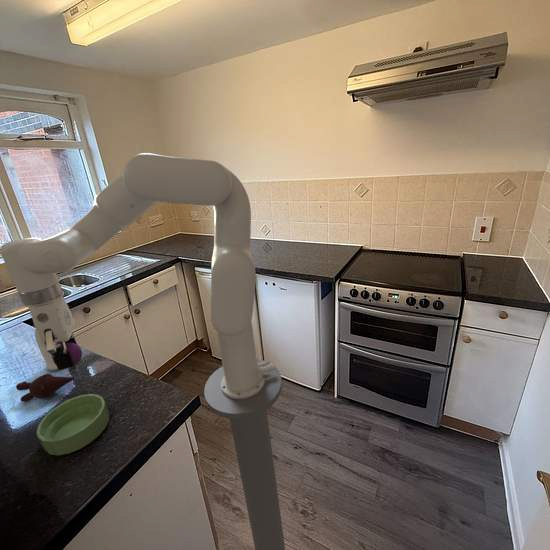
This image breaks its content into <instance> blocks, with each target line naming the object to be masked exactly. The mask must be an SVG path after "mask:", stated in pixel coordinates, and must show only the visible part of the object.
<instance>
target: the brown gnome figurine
mask: <svg viewBox="0 0 550 550" xmlns="http://www.w3.org/2000/svg"><path fill="white" fill-rule="evenodd" d="M73 380H75V377H73V376H55V375H52V374H51V373H44V374H43V375H39V376H38V377H36V378H35V379H34V380H32V381H31V382H27V381H22V382H19V383H17V384H16V386H15V388H16V390H17V391H20V392H21V391H29V392H28V393H24V395H22V396H20V402H22V403H25V402H29V401H31V400H33V399H34V398H36V399H46V398H47V399H48V398H51V397H53V396H54V394H55V392H56V391H58V390H60V389H61V388H62V387H64V386H65V385H67V384H69V383H70V382H72V381H73Z"/></svg>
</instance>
